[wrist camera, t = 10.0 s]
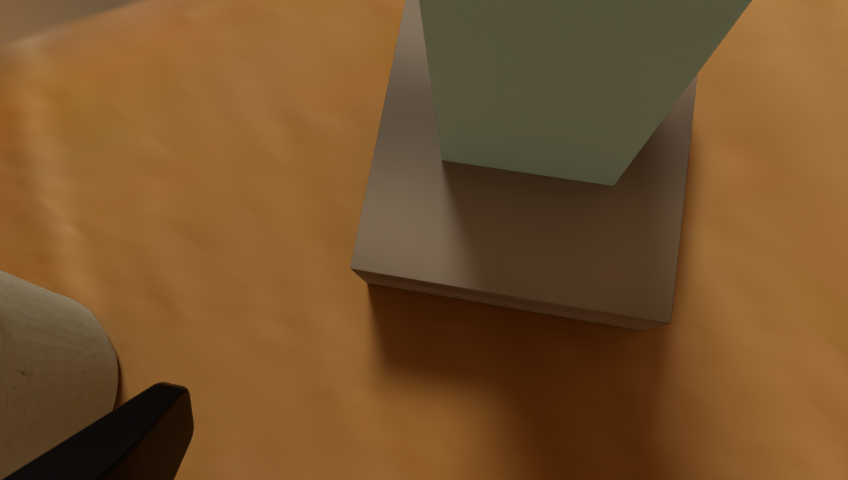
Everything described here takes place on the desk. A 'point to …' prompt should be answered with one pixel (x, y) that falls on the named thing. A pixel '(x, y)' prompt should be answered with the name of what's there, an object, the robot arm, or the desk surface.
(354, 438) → the desk surface
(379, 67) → the desk surface
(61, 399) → the flower pot
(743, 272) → the desk surface
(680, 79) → the pillar
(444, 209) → the base slab
